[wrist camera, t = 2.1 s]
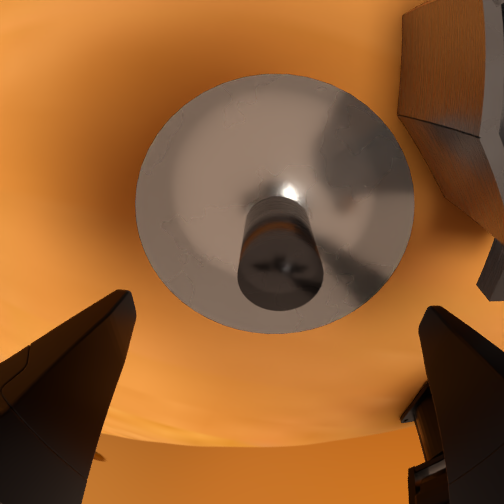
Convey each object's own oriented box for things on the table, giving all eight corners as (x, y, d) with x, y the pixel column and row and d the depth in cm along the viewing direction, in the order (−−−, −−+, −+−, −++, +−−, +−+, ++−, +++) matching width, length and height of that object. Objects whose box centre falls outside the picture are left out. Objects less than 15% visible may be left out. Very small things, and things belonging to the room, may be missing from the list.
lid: (371, 322, 17) (393, 388, 13) (159, 310, 18) (132, 376, 13) (423, 101, 11) (492, 113, 6) (139, 79, 11) (74, 77, 7)
